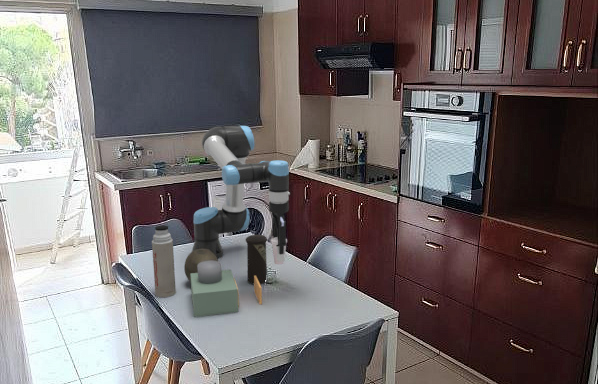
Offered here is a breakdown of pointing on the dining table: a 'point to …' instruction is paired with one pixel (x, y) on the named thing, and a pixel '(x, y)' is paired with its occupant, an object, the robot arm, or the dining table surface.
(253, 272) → the container
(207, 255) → the cantaloupe
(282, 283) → the dining table surface
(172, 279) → the thermos bottle
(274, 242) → the smoothie
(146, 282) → the dining table surface
